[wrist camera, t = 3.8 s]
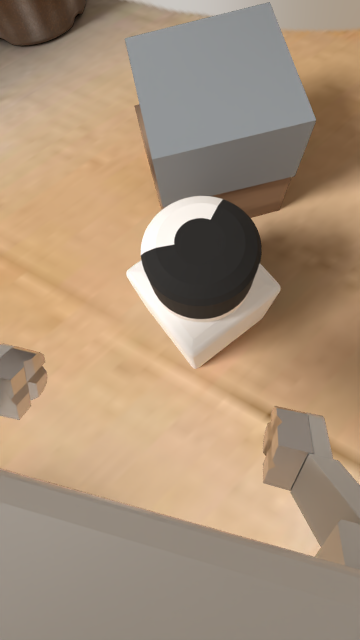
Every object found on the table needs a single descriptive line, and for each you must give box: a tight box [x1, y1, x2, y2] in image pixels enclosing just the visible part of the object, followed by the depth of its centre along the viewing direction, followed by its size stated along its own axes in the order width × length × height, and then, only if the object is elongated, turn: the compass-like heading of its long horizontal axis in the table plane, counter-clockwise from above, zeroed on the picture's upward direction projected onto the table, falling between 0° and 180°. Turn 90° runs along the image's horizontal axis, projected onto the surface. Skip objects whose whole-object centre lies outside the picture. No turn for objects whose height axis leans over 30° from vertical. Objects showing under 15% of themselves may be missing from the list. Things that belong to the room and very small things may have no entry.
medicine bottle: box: [126, 196, 281, 369], centre depth 22 cm, size 7×7×12 cm
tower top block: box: [125, 2, 316, 207], centre depth 23 cm, size 10×10×5 cm
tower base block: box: [135, 104, 291, 218], centre depth 28 cm, size 10×10×5 cm
